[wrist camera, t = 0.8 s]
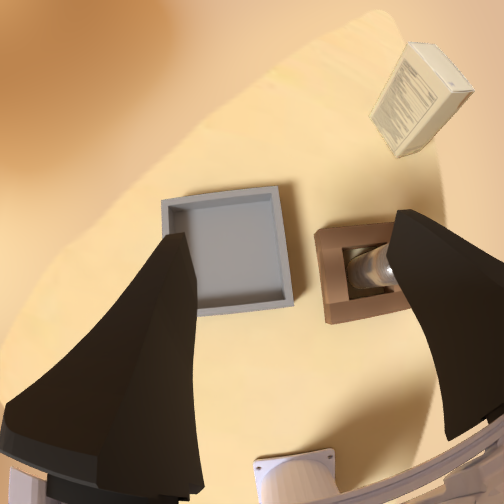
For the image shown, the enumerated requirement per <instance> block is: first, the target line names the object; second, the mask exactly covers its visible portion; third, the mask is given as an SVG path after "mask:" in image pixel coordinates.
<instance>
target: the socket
mask: <svg viewBox="0 0 504 504" xmlns="http://www.w3.org/2000/svg"><path fill="white" fill-rule="evenodd" d="M393 226H394V222H388V223H377V224H367V225H356V226H346V227H336V228H326V229H319V230H318V231H317V232H316V233H315V234H314V238H315V245H316V252H317V258H318V265H319V273H320V280H321V288H322V296H323V304H324V313H325V322H326V323H328V324H331V325H333V324H338V323H344V322H349V321H355V320H360V319H365V318H370V317H374V316H379V315H384V314H388V313H393V312H397V311H401V310H406V309H410V308H411V306H410V304H409V303H408V301H407V299H406V297H405V295H404V294H403V292H402V290H401V288H400V286H399V285H390V286H384V289H385V293H381V294H376V295H371V296H365V297H360V298H354V299H349V296H348V288H347V280H346V273H345V266H344V259H343V253H342V250H350V249H358V248H366V247H374V246H378V248H379V247H381V246H383V245H385V244H388V243H389V242H390V238H391V235H392V231H393Z"/></svg>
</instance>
